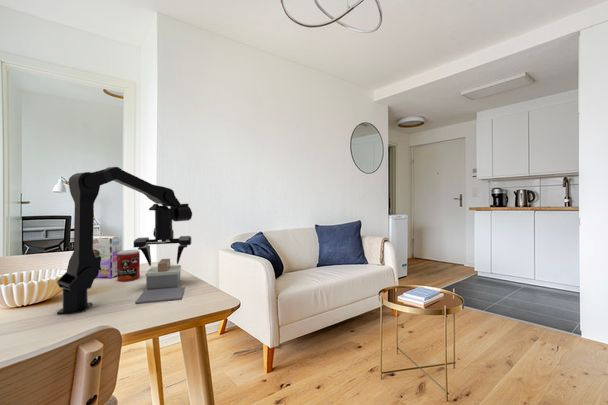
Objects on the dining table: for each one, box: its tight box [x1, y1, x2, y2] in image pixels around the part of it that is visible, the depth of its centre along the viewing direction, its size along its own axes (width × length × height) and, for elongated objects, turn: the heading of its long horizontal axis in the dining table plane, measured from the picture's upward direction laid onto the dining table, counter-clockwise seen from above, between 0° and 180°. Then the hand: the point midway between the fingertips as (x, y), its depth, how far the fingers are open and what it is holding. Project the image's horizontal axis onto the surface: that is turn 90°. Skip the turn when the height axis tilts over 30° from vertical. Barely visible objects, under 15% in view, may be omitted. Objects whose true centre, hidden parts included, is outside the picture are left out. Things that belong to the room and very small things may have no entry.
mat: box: [134, 286, 186, 305], centre depth 97 cm, size 12×13×1 cm
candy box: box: [93, 235, 122, 279], centre depth 122 cm, size 14×6×16 cm, turn 84°
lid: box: [145, 258, 182, 277], centre depth 109 cm, size 10×10×5 cm
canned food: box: [116, 249, 141, 282], centre depth 118 cm, size 8×8×11 cm
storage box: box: [145, 270, 181, 290], centre depth 109 cm, size 10×10×5 cm
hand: (164, 264), depth 109 cm, fingers open, 9 cm apart
